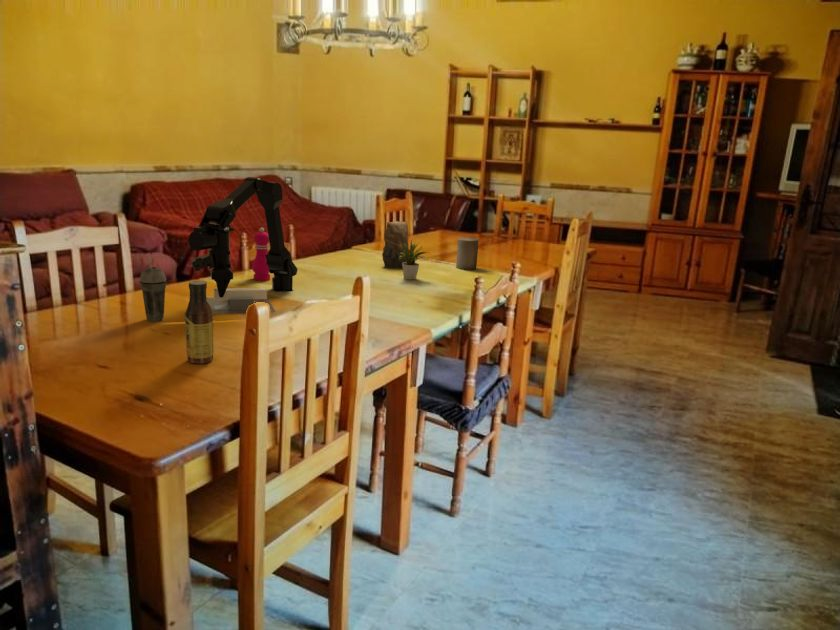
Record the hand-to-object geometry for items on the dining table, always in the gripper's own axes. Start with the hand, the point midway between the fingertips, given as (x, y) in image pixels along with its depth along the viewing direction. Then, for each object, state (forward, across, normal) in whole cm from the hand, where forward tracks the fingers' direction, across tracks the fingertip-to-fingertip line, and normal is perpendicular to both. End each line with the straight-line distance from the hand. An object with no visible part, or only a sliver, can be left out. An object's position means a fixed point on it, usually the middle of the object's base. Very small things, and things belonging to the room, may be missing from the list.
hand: (220, 295), depth 198 cm
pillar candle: (+5, -60, +113) cm, 128 cm away
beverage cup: (+5, +9, -19) cm, 21 cm away
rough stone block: (+5, -65, +81) cm, 104 cm away
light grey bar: (+1, 0, +6) cm, 6 cm away
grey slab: (+4, -3, +6) cm, 8 cm away
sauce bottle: (+5, +47, -8) cm, 48 cm away
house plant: (+5, -39, +77) cm, 86 cm away
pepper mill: (+5, -43, +18) cm, 47 cm away
